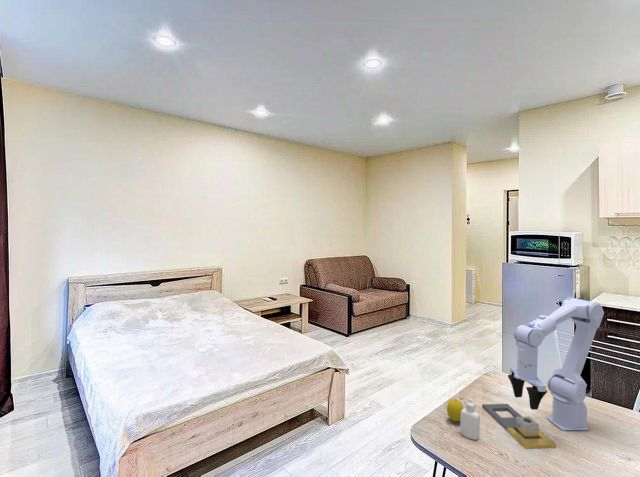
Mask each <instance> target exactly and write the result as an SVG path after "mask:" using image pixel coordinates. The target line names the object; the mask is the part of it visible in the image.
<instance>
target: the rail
mask: <svg viewBox="0 0 640 477" xmlns="http://www.w3.org/2000/svg"><path fill="white" fill-rule="evenodd" d="M481 407H482V409H483V410H485V411H486V412H487V413H488V414H489V416H490V417H492V418H493V419H494V420H495V421H496V422H497V423H498V424H499V425H500V426H501V427H502V428H503V429H504V430H505V431H506V432H507V433H509V434H510V436H512V437H513V439H515V440H516V441H517V442H518V443H519V444H520V445H521V446H522V447H523V448H524V449H549V448H550V449H551V448H552V449H553V448H556V446H557V444H556V443H555V442H554V441H553V440H551V439H550V438H549V437H548V436H547V435H545V434H544V433H543V432H542V431H540V430H539V435H538V439H524V438H523V437H522V436H521V435H520V434H519V433H518V432H517V431H516V417H523V415H521V413H519V412H518V411H517V410H515V408H513V407H512V406H511V405H509V404H508V403H492V404H491V403H489V404H488V403H486V404H485V403H484V404H481ZM497 412H508V413H509V414H510V415H511V416H513V417H511V416H509V417H502V416H501V415H500V414H499V413H497Z"/></svg>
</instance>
